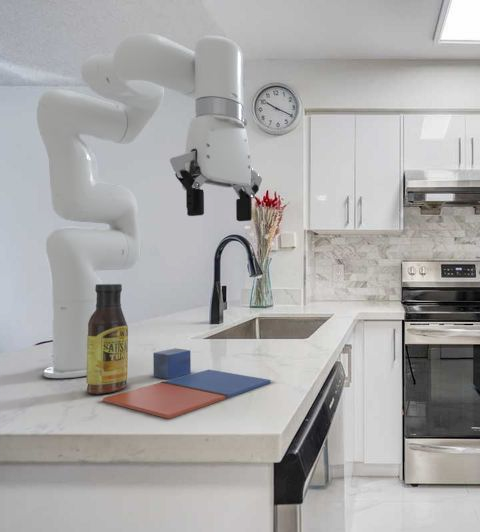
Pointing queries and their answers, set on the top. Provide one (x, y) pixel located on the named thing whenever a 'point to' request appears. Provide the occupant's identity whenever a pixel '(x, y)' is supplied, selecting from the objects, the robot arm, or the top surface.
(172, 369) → the blue block
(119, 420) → the top surface
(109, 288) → the sauce bottle
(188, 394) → the sorting board
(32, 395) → the top surface
